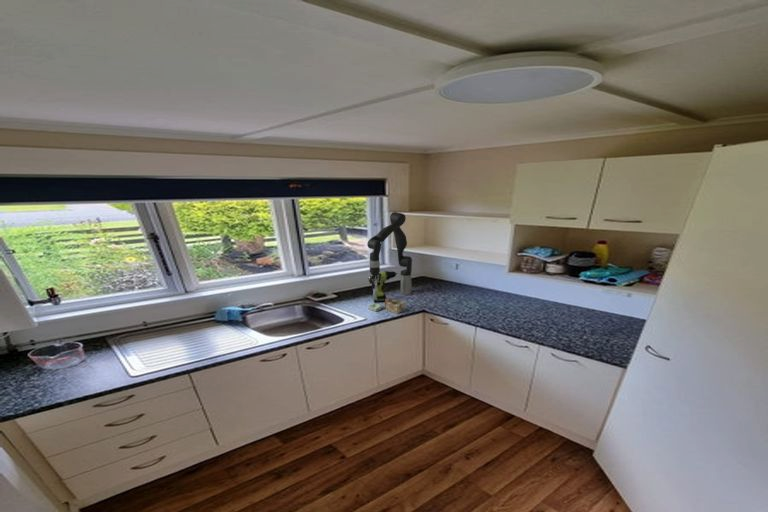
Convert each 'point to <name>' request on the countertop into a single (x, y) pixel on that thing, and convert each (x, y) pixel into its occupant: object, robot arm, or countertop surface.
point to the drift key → (387, 301)
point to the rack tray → (375, 307)
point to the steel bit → (375, 291)
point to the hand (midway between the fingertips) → (375, 287)
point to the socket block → (395, 306)
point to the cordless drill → (384, 277)
